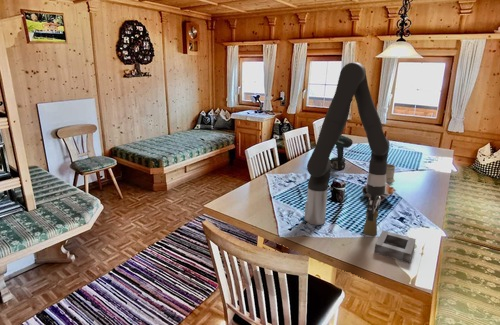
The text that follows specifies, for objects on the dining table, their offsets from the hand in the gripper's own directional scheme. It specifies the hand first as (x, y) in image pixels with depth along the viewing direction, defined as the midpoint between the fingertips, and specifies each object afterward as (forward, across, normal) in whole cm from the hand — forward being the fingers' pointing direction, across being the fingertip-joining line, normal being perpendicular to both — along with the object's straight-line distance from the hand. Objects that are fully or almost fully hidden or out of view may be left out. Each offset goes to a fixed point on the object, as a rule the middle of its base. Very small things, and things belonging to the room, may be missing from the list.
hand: (372, 216), depth 140 cm
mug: (+8, -75, -11) cm, 76 cm away
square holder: (+8, +9, +11) cm, 17 cm away
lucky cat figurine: (+8, -41, -6) cm, 42 cm away
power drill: (+7, -83, -47) cm, 95 cm away
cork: (+8, 0, -1) cm, 8 cm away
